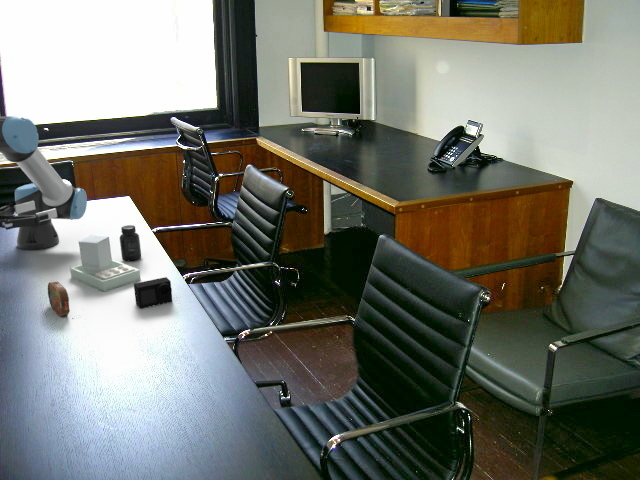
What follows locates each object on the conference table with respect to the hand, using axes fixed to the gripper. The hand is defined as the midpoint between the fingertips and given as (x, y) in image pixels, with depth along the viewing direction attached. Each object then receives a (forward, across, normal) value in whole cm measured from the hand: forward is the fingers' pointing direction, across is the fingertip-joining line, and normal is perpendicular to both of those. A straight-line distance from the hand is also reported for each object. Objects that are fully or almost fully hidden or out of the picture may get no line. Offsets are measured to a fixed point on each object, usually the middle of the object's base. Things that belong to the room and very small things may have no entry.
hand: (45, 208), depth 251 cm
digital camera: (+11, +38, -26) cm, 48 cm away
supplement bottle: (+31, -2, -27) cm, 41 cm away
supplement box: (+13, +4, -26) cm, 29 cm away
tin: (-11, +21, -26) cm, 35 cm away
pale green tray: (+14, +8, -26) cm, 31 cm away
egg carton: (+13, +14, -26) cm, 33 cm away
